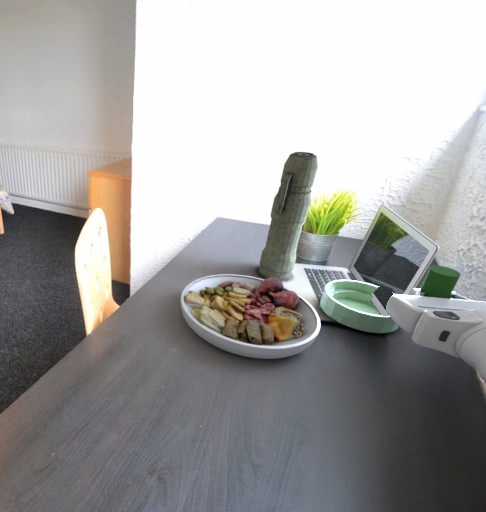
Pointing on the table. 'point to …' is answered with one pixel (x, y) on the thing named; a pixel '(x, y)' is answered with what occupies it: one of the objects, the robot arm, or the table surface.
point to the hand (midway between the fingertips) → (430, 292)
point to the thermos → (288, 215)
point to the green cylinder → (440, 282)
